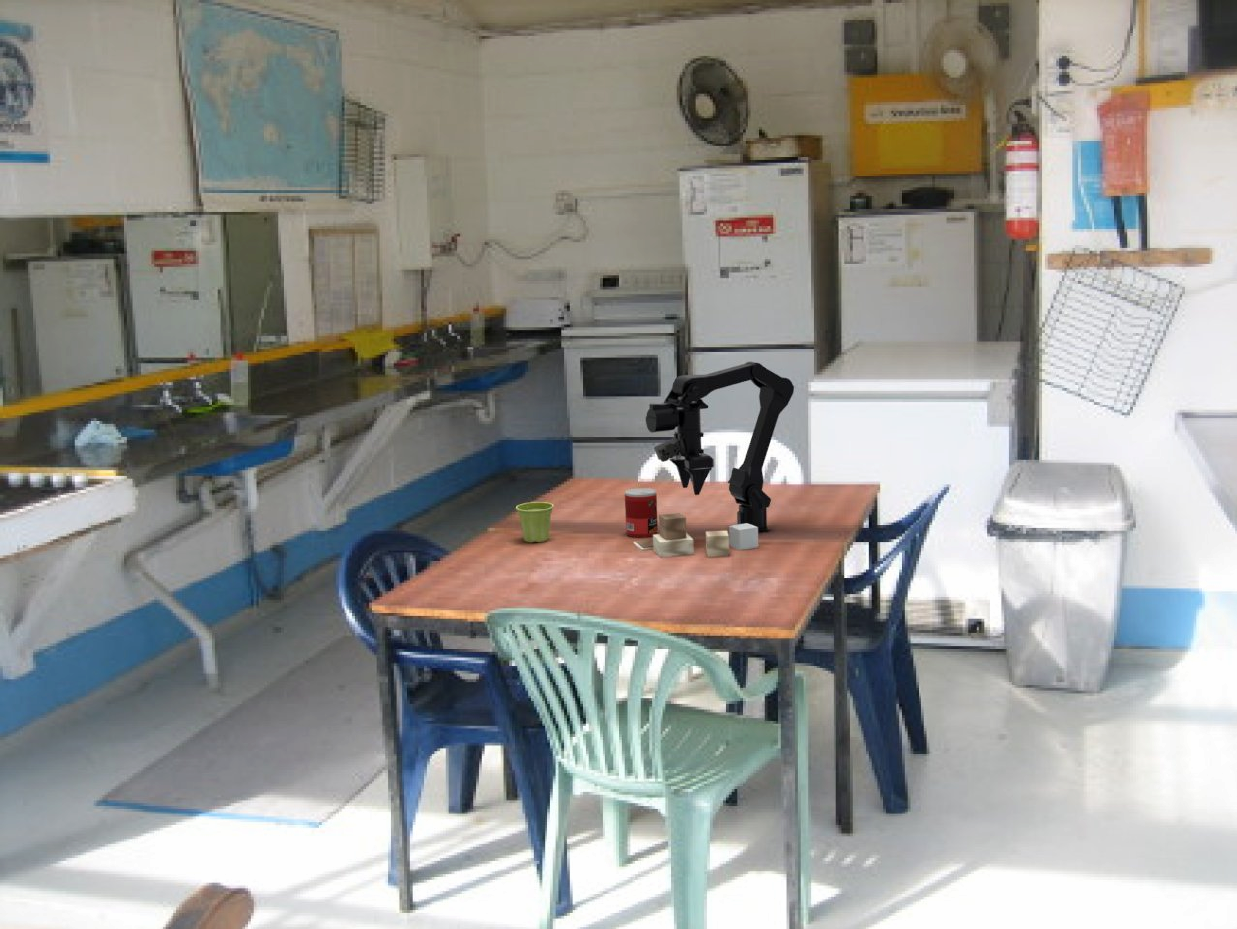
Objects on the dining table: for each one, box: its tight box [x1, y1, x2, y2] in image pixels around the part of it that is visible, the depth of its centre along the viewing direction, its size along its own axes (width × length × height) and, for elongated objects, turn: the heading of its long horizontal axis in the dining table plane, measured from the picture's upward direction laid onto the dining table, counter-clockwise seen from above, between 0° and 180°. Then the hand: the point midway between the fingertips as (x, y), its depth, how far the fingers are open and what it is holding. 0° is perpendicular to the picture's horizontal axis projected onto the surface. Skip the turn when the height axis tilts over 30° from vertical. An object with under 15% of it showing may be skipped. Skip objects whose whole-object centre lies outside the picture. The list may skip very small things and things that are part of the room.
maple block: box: [705, 530, 730, 558], centre depth 311 cm, size 5×5×5 cm
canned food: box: [624, 487, 659, 538], centre depth 332 cm, size 8×8×11 cm
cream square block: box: [652, 532, 695, 558], centre depth 314 cm, size 8×8×4 cm
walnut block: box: [658, 512, 687, 540], centre depth 314 cm, size 5×5×5 cm
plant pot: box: [515, 501, 555, 543], centre depth 331 cm, size 9×9×9 cm
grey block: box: [728, 523, 759, 551], centre depth 316 cm, size 5×5×5 cm
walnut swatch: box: [633, 539, 653, 551], centre depth 321 cm, size 7×7×1 cm
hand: (690, 491), depth 324 cm, fingers open, 9 cm apart
